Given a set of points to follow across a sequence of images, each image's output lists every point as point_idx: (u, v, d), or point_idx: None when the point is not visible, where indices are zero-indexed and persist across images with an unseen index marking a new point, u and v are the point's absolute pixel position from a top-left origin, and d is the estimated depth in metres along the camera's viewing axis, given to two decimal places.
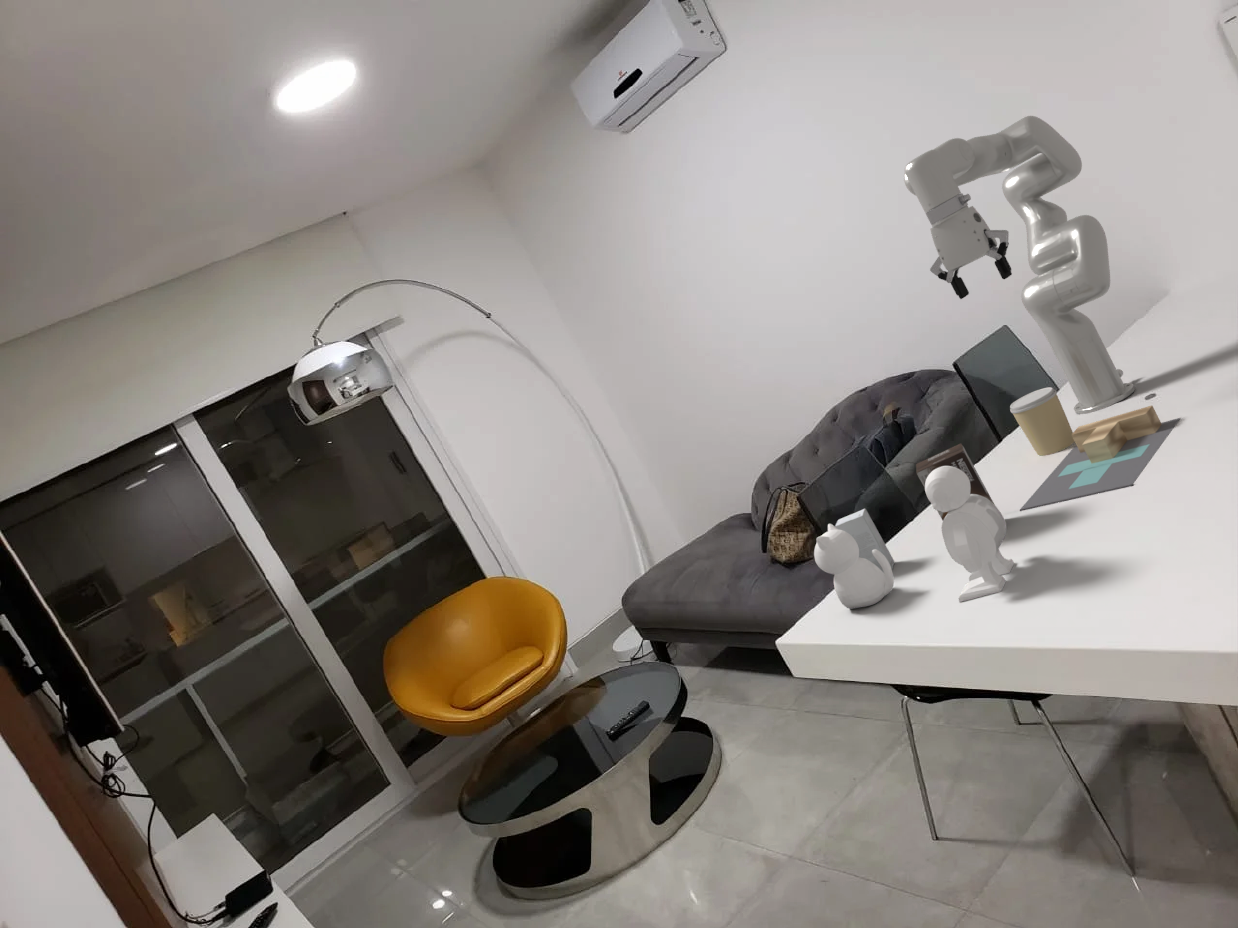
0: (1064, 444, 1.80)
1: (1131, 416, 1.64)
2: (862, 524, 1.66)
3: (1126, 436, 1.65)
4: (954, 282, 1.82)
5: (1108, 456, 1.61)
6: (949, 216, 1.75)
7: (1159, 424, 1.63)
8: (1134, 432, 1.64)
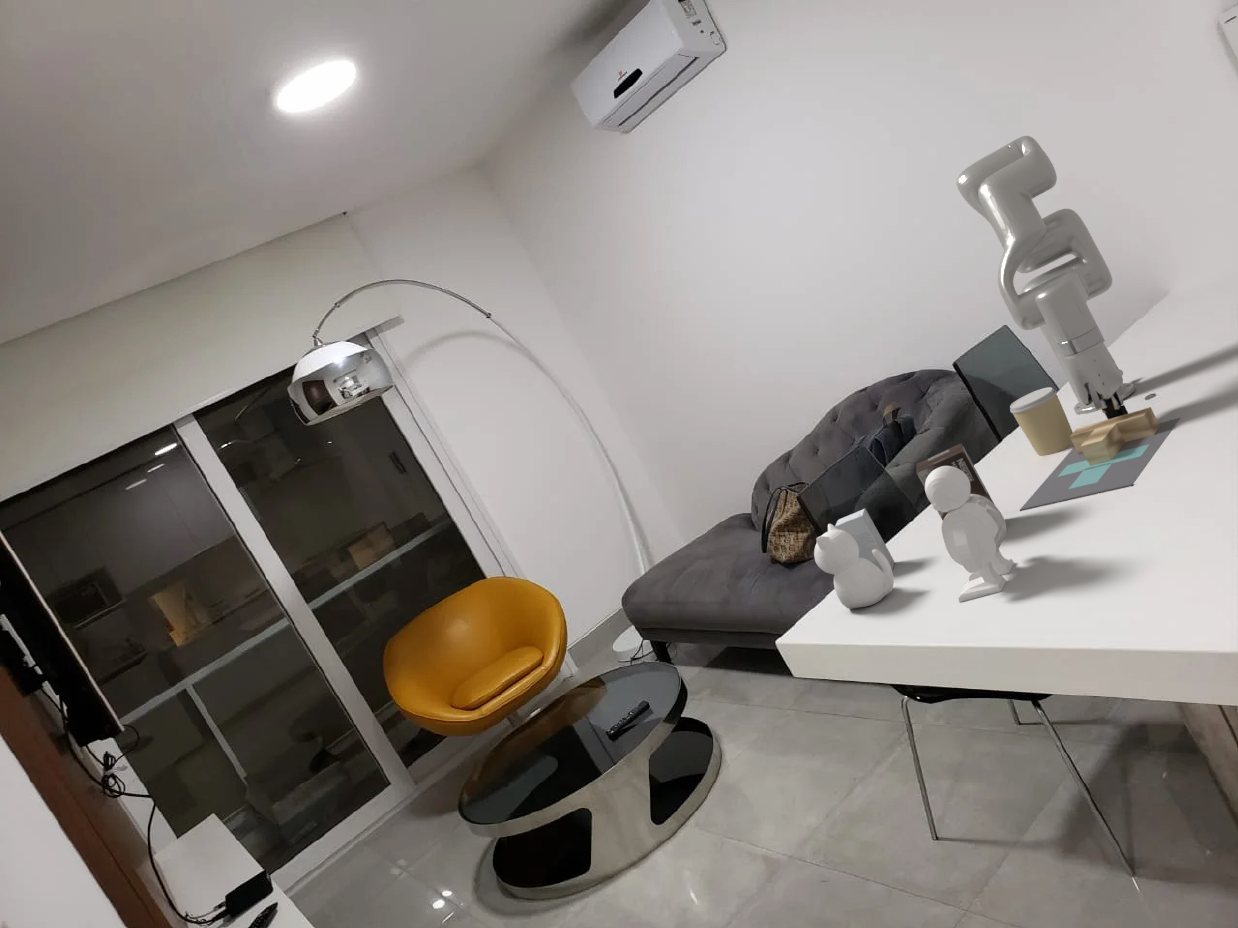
0: (1064, 444, 1.80)
1: (1129, 418, 1.63)
2: (862, 524, 1.66)
3: (1124, 438, 1.64)
4: None
5: (1107, 458, 1.60)
6: (1103, 338, 1.67)
7: (1157, 426, 1.63)
8: (1133, 434, 1.63)
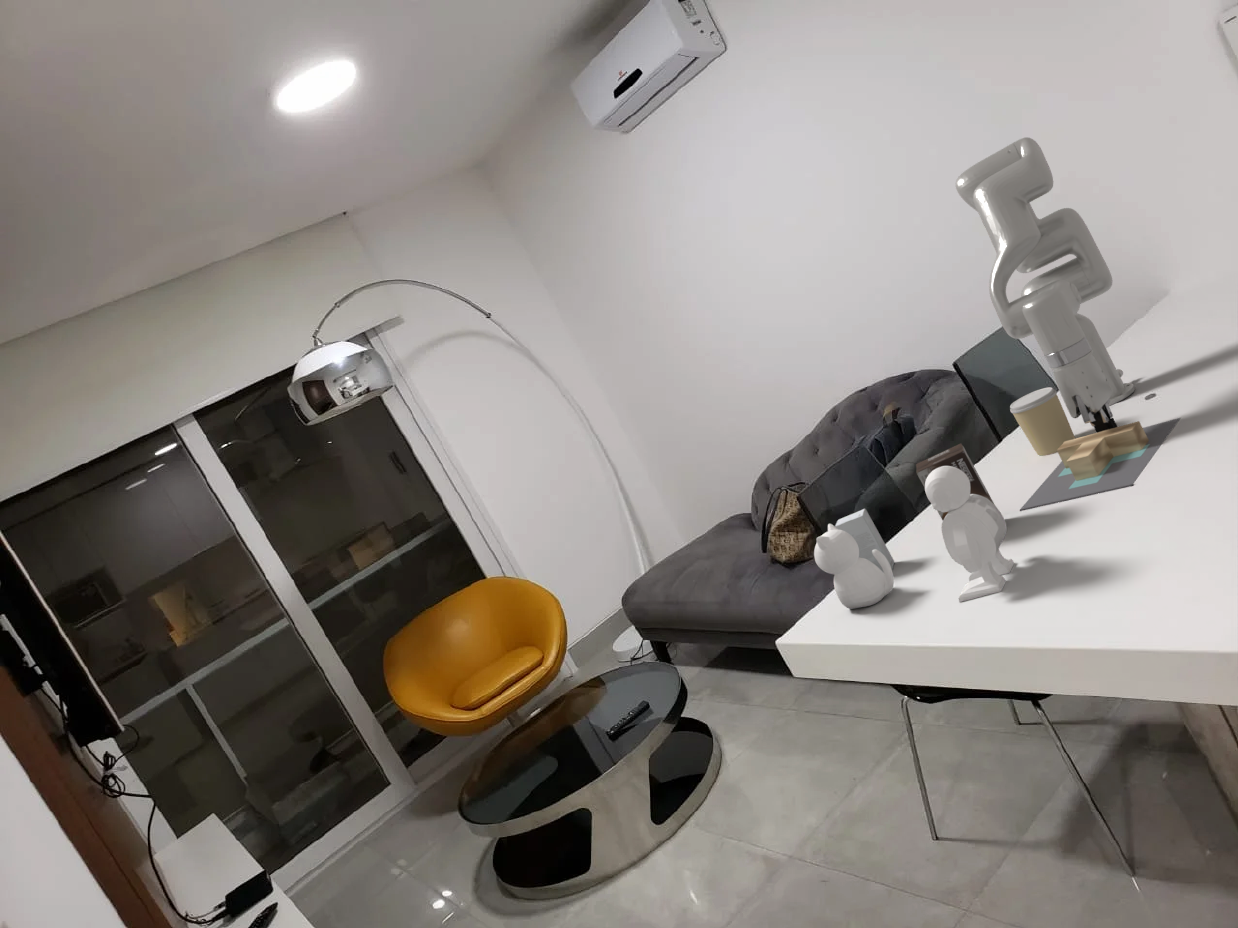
0: None
1: (1117, 432, 1.59)
2: (862, 524, 1.66)
3: (1112, 452, 1.61)
4: (1111, 421, 1.64)
5: (1093, 474, 1.57)
6: (1092, 349, 1.63)
7: (1146, 440, 1.59)
8: (1120, 448, 1.59)
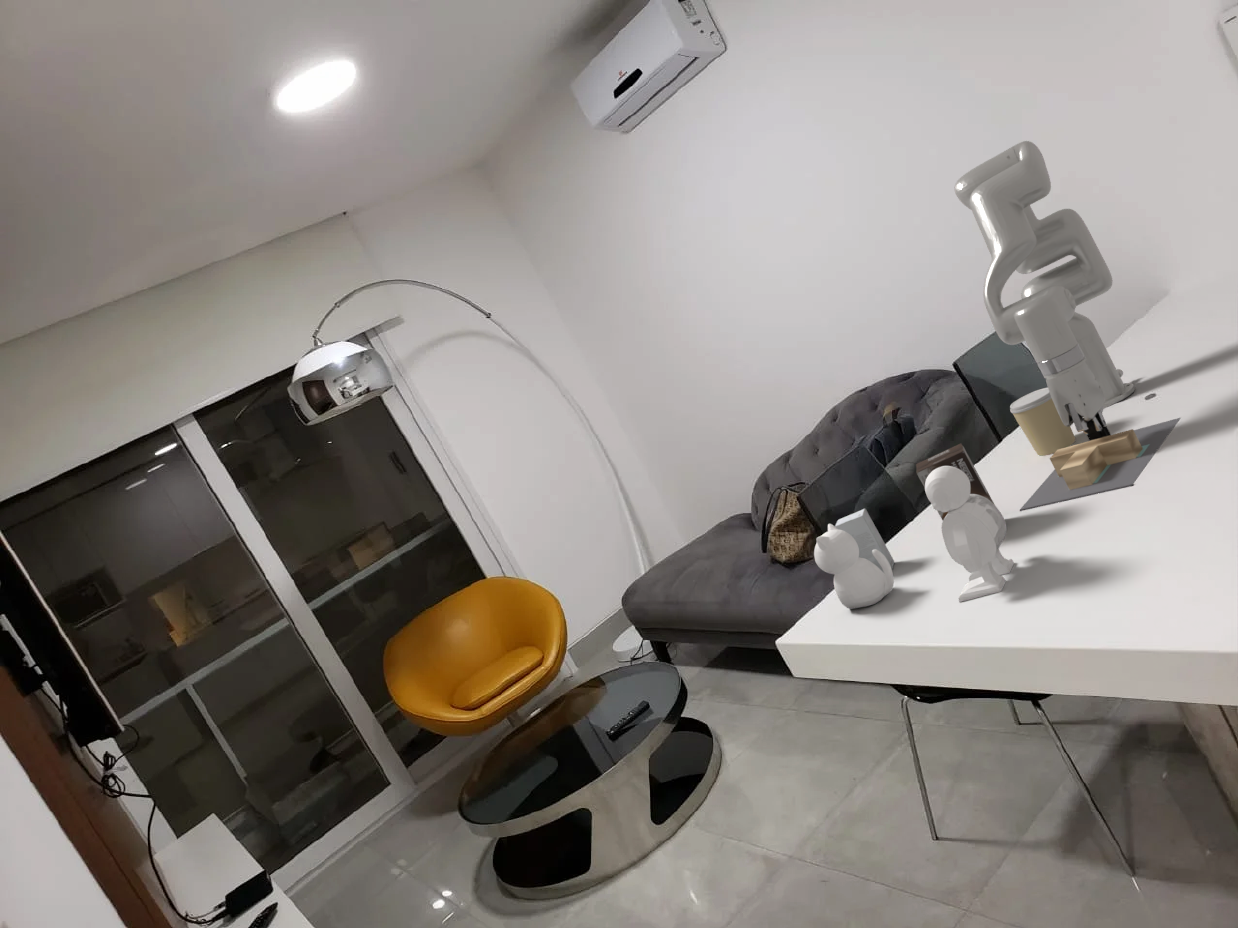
0: (1064, 444, 1.80)
1: (1111, 440, 1.57)
2: (862, 524, 1.66)
3: (1106, 461, 1.58)
4: (1104, 429, 1.62)
5: (1087, 483, 1.54)
6: (1085, 357, 1.61)
7: (1140, 449, 1.57)
8: (1114, 457, 1.57)
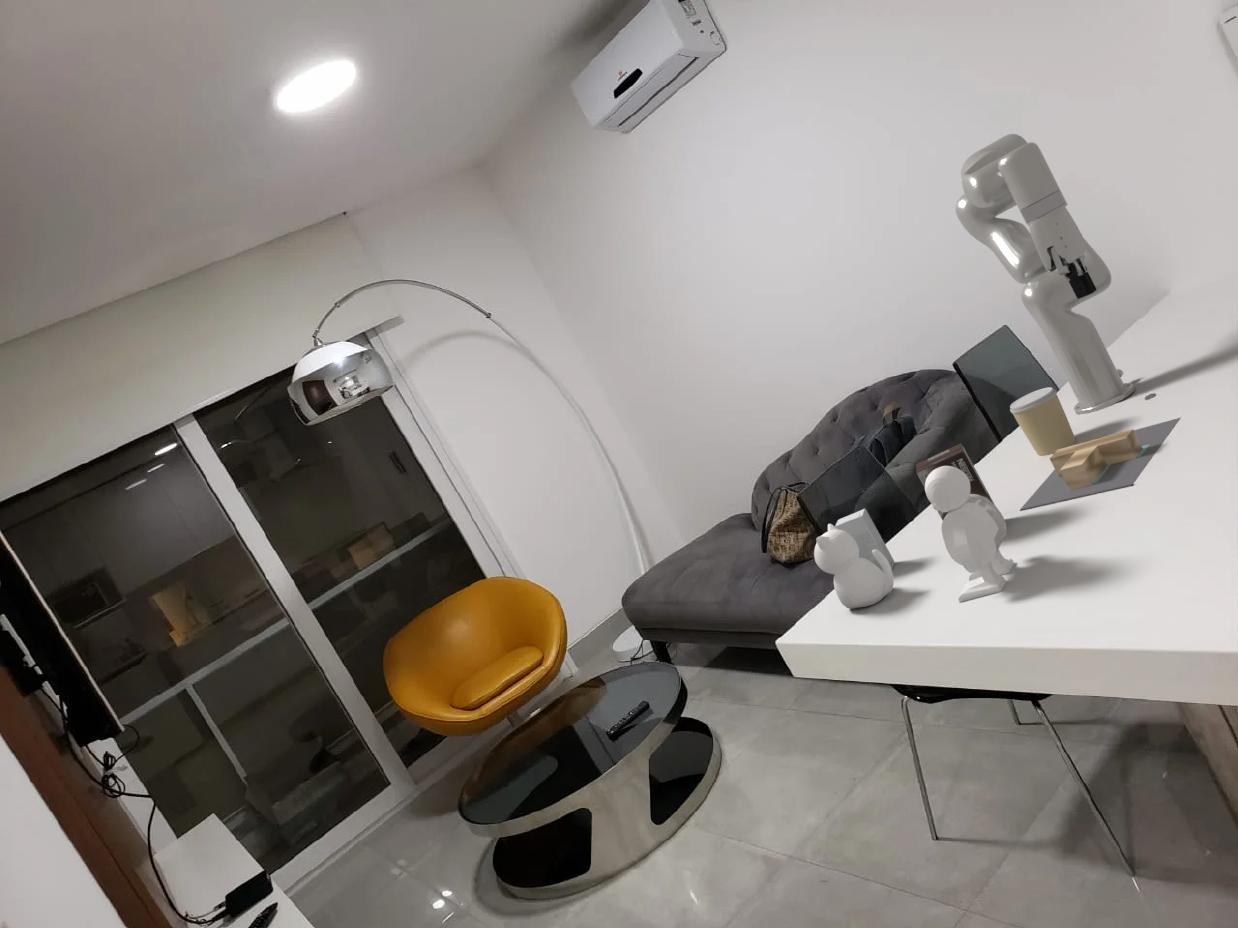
0: (1064, 444, 1.80)
1: (1111, 440, 1.57)
2: (862, 524, 1.66)
3: (1106, 461, 1.58)
4: (1085, 274, 1.67)
5: (1087, 483, 1.54)
6: (1066, 203, 1.66)
7: (1140, 449, 1.57)
8: (1114, 457, 1.57)
